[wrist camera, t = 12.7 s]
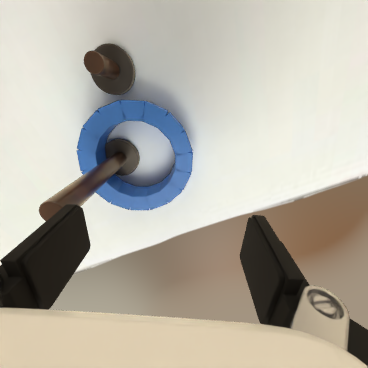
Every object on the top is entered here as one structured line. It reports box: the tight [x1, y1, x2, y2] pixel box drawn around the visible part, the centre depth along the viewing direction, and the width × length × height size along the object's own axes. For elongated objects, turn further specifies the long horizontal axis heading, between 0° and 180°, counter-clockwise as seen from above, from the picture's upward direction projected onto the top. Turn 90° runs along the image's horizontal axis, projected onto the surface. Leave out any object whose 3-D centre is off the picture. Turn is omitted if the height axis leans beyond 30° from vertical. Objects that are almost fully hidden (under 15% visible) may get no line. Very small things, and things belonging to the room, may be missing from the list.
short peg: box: [84, 44, 135, 95], centre depth 19 cm, size 5×5×5 cm
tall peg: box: [39, 139, 139, 221], centre depth 19 cm, size 5×5×14 cm
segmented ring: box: [77, 100, 193, 210], centre depth 23 cm, size 13×13×3 cm
